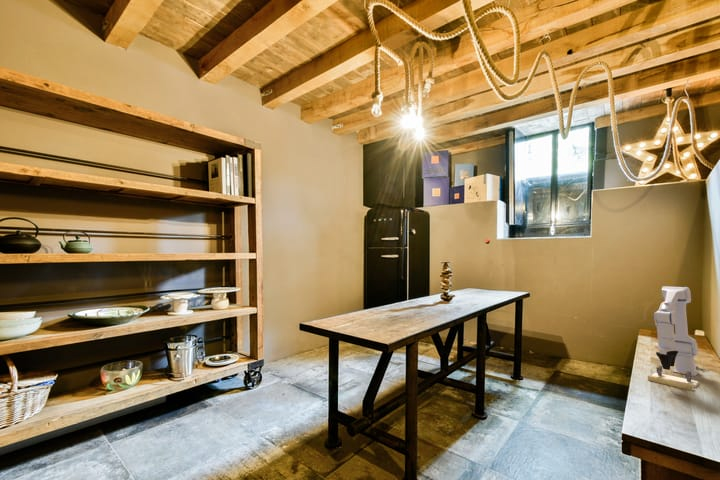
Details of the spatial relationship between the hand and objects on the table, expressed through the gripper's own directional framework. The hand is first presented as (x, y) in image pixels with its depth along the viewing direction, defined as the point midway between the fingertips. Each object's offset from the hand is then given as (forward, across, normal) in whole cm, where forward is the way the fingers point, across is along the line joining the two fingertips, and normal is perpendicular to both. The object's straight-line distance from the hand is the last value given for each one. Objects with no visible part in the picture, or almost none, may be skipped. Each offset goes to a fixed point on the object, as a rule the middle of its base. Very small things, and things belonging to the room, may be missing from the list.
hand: (668, 367), depth 146 cm
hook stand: (+8, -8, 0) cm, 11 cm away
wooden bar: (+8, 0, 0) cm, 8 cm away
